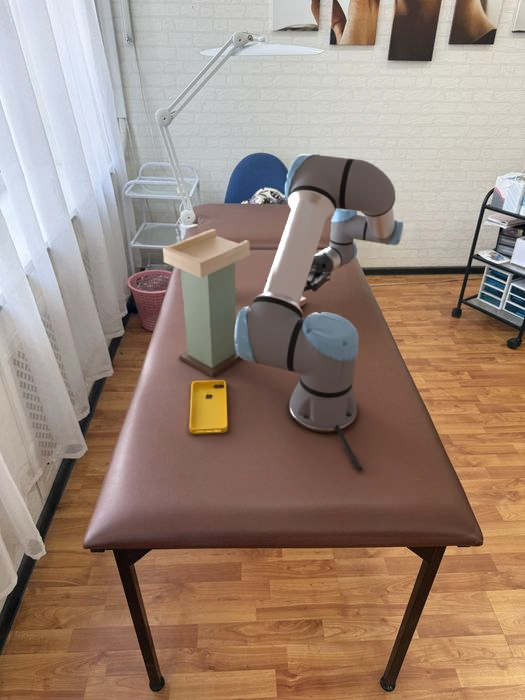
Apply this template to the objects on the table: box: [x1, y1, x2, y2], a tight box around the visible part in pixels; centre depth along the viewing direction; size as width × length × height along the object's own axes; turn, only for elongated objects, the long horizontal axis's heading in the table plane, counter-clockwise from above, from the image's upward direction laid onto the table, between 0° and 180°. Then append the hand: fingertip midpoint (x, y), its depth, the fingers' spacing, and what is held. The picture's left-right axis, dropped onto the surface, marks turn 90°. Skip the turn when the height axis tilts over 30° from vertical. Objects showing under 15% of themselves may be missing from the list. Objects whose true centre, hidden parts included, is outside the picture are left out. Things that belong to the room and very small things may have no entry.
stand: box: [162, 228, 251, 378], centre depth 124 cm, size 16×12×32 cm
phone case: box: [188, 379, 229, 435], centre depth 116 cm, size 8×17×1 cm, turn 5°
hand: (278, 288), depth 146 cm, fingers open, 8 cm apart
